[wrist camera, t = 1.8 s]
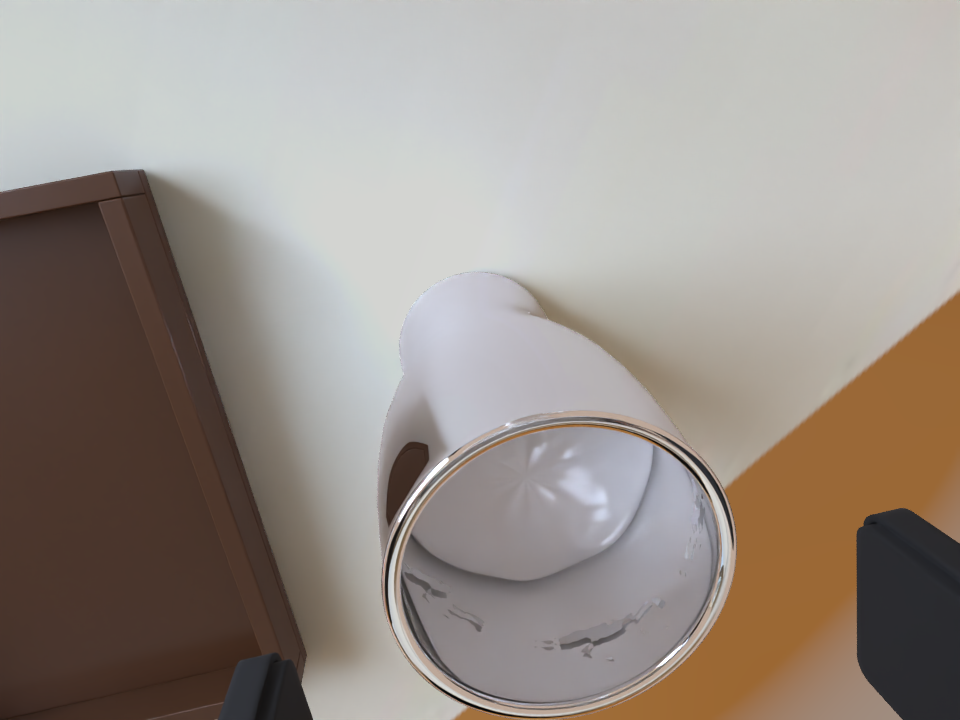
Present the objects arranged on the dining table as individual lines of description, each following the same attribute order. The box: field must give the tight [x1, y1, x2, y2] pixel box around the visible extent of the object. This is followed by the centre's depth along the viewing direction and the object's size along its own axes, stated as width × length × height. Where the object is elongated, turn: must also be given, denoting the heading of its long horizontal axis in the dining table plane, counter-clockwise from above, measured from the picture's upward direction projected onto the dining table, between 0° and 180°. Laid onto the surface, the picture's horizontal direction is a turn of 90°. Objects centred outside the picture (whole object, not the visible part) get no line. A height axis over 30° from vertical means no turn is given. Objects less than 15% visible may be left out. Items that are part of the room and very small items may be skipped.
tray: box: [0, 169, 307, 720], centre depth 24 cm, size 22×16×3 cm
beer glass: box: [377, 272, 737, 720], centre depth 19 cm, size 7×7×15 cm
